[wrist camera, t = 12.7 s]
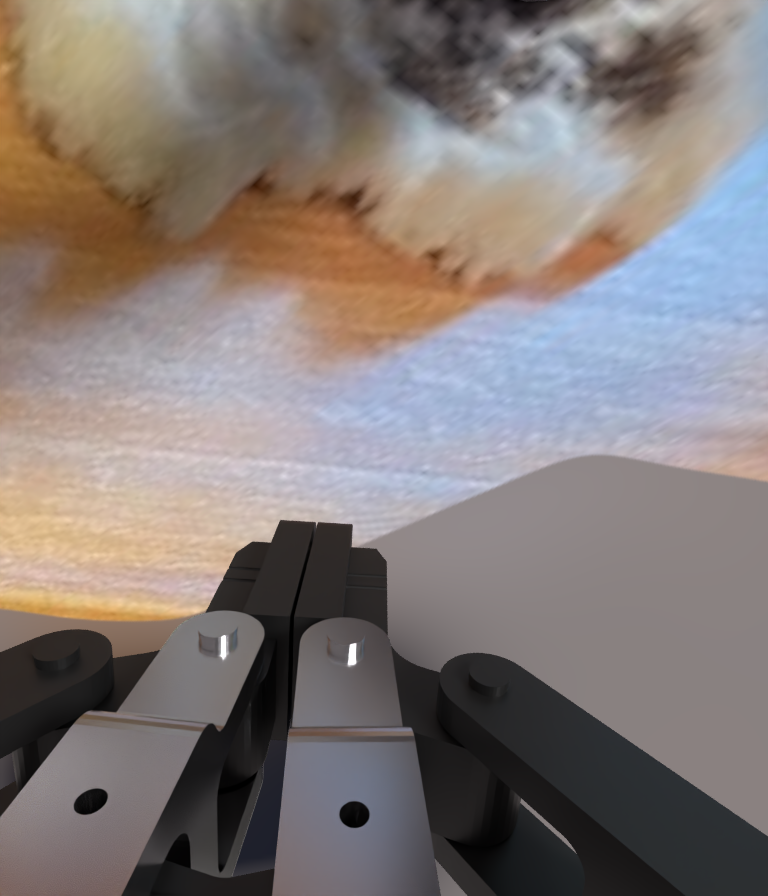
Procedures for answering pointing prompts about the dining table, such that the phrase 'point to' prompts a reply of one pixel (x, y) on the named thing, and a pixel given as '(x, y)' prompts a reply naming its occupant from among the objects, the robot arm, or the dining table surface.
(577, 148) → the dining table surface
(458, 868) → the robot arm
